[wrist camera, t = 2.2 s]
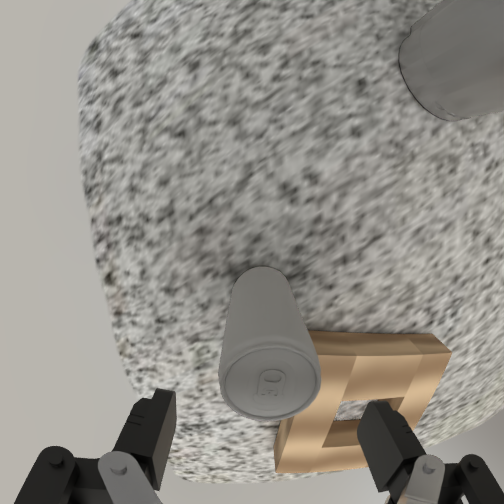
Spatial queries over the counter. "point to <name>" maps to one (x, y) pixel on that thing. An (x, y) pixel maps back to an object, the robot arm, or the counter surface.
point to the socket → (358, 395)
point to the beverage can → (267, 350)
